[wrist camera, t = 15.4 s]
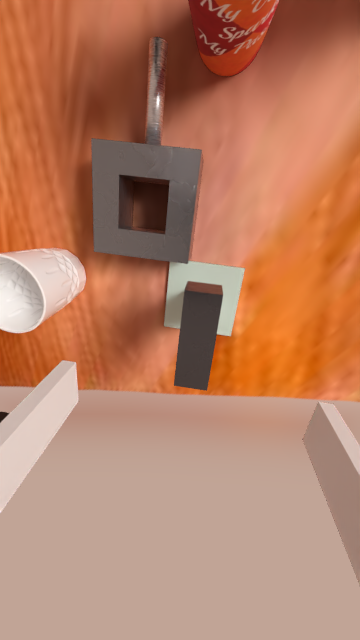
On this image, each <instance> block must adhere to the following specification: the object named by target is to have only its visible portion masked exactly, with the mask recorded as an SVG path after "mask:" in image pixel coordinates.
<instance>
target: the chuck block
mask: <svg viewBox="0 0 360 640" xmlns="http://www.w3.org/2000/svg"><path fill="white" fill-rule="evenodd" d="M167 53H168V43H167V41H166V40H164V39H163V38H160V37H153V38H151V39H150V43H149V64H148V85H147V107H146V128H145V144H141V143H132V142H122V141H113V140H103V139H93V138H92V184H93V230H94V252H101V253H108V254H116V255H123V256H131V257H139V258H146V259H154V260H161V261H169V262H176V263H184V264H188V263H189V261H190V259H191V256H192V248H193V240H194V232H195V224H196V216H197V208H198V200H199V192H200V185H201V177H202V169H203V154H202V150H199V149H190V148H180V147H170V146H161V140H162V126H163V111H164V97H165V82H166V67H167ZM134 181H138V182H147V183H155V184H164V185H169V195H168V207H167V219H166V231H163V230H155V229H147V228H139V227H133V198H134Z"/></svg>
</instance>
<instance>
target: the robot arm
mask: <svg viewBox="0 0 360 640" xmlns="http://www.w3.org/2000/svg"><path fill="white" fill-rule="evenodd" d="M77 403H78V386H77V371H76V362H71V361H64V360H62V361H61V362H60V363H59V364H58V365H57V366H56V367H55V368H54V369H53V370H52V371H51V372H50V373H49V374H48V375H47V376H46V377H45V378H44V379H43V380H42V381H41V382H40V383H39V384H38V385H37V386H36V387H35V388H34V389H33V390H32V391H31V392H30V393H29V394H28V395H27V396H26V398H25V399H24V400H22V401H21V402H20V404H19V405H18V406H16V407H15V408H14V410H13V411H11V413H6V412H0V513H1V511H2V510H3V509H4V507H5V506H6V504H7V503H8V501H9V500H10V499H11V497H12V496H13V494H14V493H15V491H16V490H17V489H18V487H19V485H20V484H21V483H22V481H23V480H24V478H25V477H26V476H27V474H28V473H29V471H30V470H31V469H32V467H33V466H34V464H35V463H36V461H37V460H38V459H39V457H40V455H41V454H42V453H43V451H44V450H45V448H46V447H47V446H48V444H49V443H50V441H51V440H52V438H53V437H54V436H55V434H56V433H57V431H58V430H59V428H60V427H61V425H62V424H63V423H64V421H65V420H66V418H67V417H68V416H69V414H70V413H71V411H72V410H73V408H74V407H75V406H76V404H77ZM302 440H303V442H304V445H305V447H306V449H307V452H308V455H309V458H310V460H311V463H312V465H313V468H314V470H315V473H316V475H317V478H318V480H319V483H320V486H321V488H322V491H323V493H324V496H325V498H326V501H327V503H328V506H329V508H330V511H331V513H332V516H333V519H334V521H335V523H336V526H337V529H338V531H339V534H340V536H341V539H342V541H343V543H344V546H345V549H346V551H347V554H348V557H349V559H350V562H351V564H352V567H353V569H354V572H355V574H356V577H357V580H358V582H359V584H360V446H359V444H358V442H357V441H356V439H355V437H354V436H353V434H352V433H351V431H350V430H349V428H348V426H347V425H346V423H345V421H344V420H343V418H342V417H341V415H340V414H339V412H338V410H337V409H336V407H335V406H334V404H331V403H325V402H318V404H317V406H316V409H315V411H314V413H313V416H312V418H311V420H310V423H309V425H308V427H307V430H306V432H305V434H304V437H303V439H302Z"/></svg>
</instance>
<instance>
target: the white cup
mask: <svg viewBox="0 0 360 640" xmlns="http://www.w3.org/2000/svg"><path fill="white" fill-rule="evenodd" d="M85 283H86V274H85V269H84V266H83V265H82V264H81V262H80V261H79V259H78V258H77V257H76V256H75V255H74V254H72V253H71V252H69V251H68V250H65V249H60V248H48V249H32V250H21V251H13V252H4V253H0V329H2V330H4V331H7V332H12V333H25V332H29V331H31V330H33V329H35V328H36V327H37V326H39V325H40V324H41V323H43V322H44V321H46V320H47V319H48V318H50V317H51V316H53V315H54V314H55V313H57V312H58V311H59V310H61V309H62V308H63V307H65V306H66V305H67V304H68V303H70V302H71V301H72V300H73V299H74V298H75V297H77V296H78V295H79V294H80V293H81V292H82V291H83V290H84V287H85Z"/></svg>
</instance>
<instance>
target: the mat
mask: <svg viewBox="0 0 360 640" xmlns="http://www.w3.org/2000/svg"><path fill="white" fill-rule="evenodd" d="M244 270H245V268H240V267H233V266H225V265H218V264H210V263H202V262H195V261H189V263H188V264H184V263H176V262H170V266H169V277H168V287H167V298H166V309H165V319H164V326H166V327H172V328H179V329H180V326H181V317H182V307H183V298H184V290H185V287H186V284H187V281H193V282H201V283H209V284H217V285H222V289H223V300H222V306H221V312H220V317H219V323H218V329H217V334H219V335H226V336H231V332H232V327H233V323H234V318H235V313H236V308H237V304H238V299H239V294H240V289H241V285H242V280H243V275H244Z"/></svg>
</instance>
